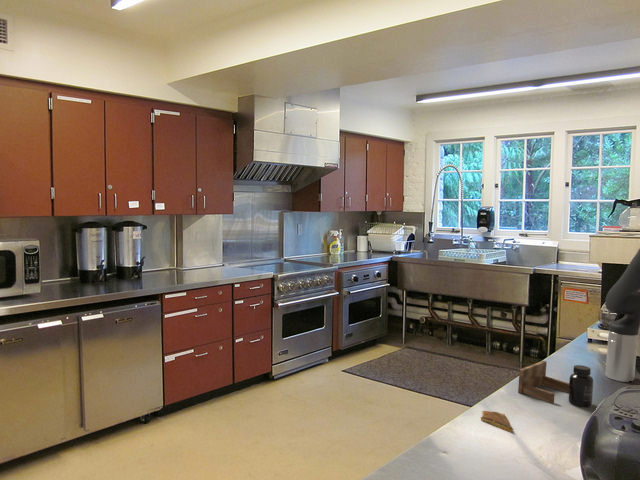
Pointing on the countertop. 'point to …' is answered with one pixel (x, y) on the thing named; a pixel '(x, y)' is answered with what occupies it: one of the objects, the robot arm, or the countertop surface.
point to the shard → (497, 420)
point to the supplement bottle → (581, 387)
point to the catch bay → (539, 382)
